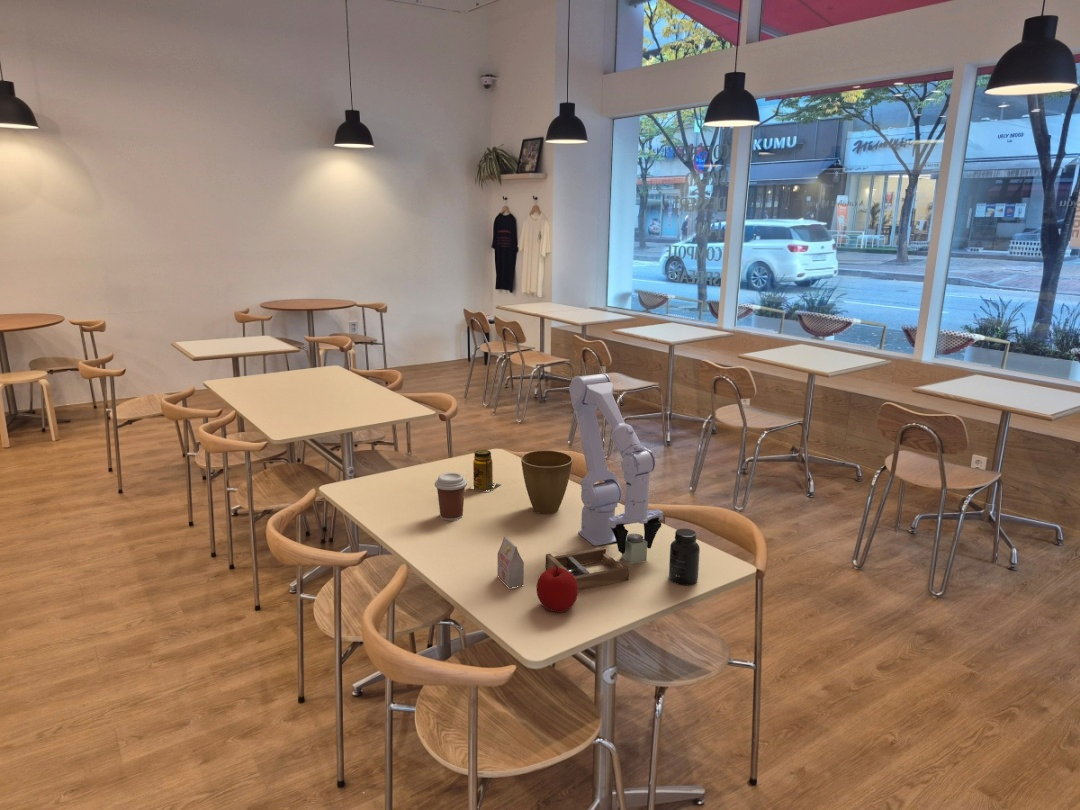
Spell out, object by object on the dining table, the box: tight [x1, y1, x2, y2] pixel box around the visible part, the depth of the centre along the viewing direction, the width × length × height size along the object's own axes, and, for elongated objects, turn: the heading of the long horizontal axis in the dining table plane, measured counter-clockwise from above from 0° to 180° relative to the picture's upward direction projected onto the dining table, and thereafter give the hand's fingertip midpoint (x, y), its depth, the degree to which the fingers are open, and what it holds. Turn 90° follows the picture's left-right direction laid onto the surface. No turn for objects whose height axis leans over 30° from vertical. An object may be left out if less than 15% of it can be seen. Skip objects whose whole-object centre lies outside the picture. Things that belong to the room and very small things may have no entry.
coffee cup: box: [434, 472, 468, 522], centre depth 208 cm, size 9×9×12 cm
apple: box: [536, 567, 579, 613], centre depth 159 cm, size 9×9×10 cm
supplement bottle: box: [668, 528, 701, 586], centre depth 172 cm, size 7×7×12 cm
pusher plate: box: [566, 556, 591, 576], centre depth 173 cm, size 9×5×3 cm, turn 24°
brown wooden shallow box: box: [544, 547, 630, 591], centre depth 175 cm, size 12×16×4 cm
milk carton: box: [497, 536, 525, 589], centre depth 170 cm, size 4×7×10 cm, turn 26°
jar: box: [621, 533, 648, 565], centre depth 183 cm, size 4×4×6 cm
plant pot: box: [520, 449, 574, 515], centre depth 213 cm, size 15×15×16 cm
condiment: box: [468, 449, 502, 493], centre depth 231 cm, size 7×8×12 cm
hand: (634, 549), depth 183 cm, fingers open, 7 cm apart
